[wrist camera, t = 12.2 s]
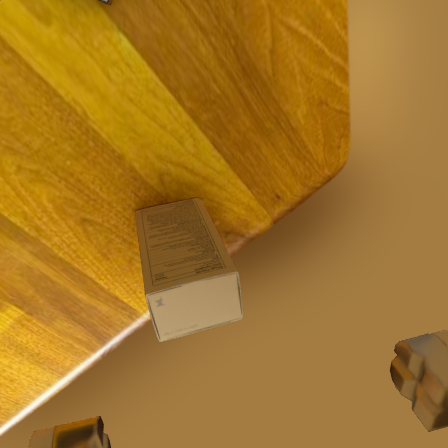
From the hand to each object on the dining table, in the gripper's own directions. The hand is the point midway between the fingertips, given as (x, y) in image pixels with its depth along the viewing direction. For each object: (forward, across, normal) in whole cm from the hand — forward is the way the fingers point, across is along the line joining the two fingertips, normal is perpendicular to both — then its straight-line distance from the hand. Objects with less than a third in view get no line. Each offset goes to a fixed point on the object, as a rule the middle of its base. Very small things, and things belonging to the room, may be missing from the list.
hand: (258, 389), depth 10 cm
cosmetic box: (+25, 0, +8) cm, 26 cm away
